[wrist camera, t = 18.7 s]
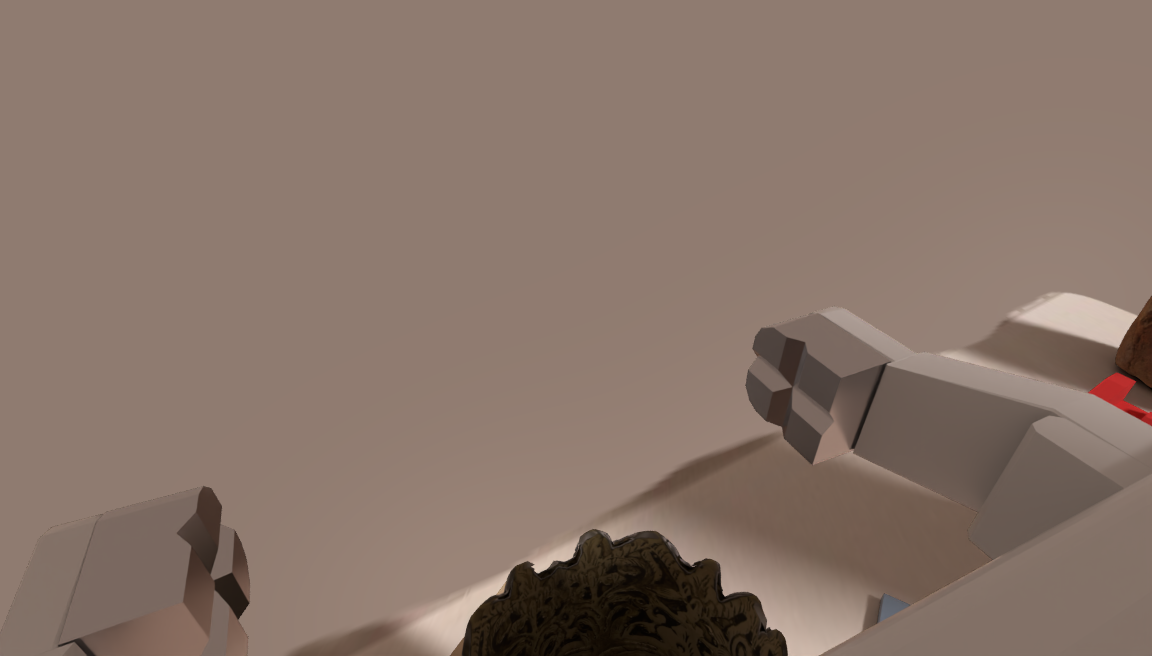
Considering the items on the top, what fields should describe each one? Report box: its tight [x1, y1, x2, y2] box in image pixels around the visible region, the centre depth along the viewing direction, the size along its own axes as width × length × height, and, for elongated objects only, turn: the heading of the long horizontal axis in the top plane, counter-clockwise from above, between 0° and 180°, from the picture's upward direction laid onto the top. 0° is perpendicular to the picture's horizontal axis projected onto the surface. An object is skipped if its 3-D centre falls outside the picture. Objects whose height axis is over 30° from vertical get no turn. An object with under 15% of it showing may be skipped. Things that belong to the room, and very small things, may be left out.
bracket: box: [1088, 373, 1152, 426], centre depth 43 cm, size 6×5×3 cm
